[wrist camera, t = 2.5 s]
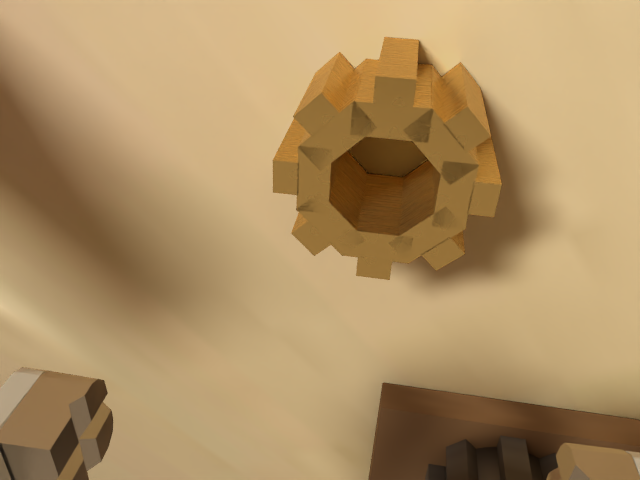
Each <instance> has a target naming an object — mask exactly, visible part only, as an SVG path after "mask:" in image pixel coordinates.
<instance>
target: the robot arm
mask: <svg viewBox="0 0 640 480" xmlns="http://www.w3.org/2000/svg"><path fill="white" fill-rule="evenodd" d="M106 395H107V389H106V386H105V382H104V380H100V379H95V378H89V377H83V376H77V375H71V374H65V373H59V372H53V371H46V370H40V369H33V368H27V367H21V368H20V369H18V370H16V371H14V372H13V373H12V374H11V375H10V377H9V378H8V379H7V380H6V382H5V383H4V384H3V385H2V387H1V388H0V480H89V478H88V473H87V471H88V470H89V469H91V468H92V467H94V466H95V465H97V464H98V463H100V462H101V461H102V459H103V457H104V455H105V453H106V451H107V449H108V447H109V443H110V439H111V436H112V432H113V416H112V411H111V409H110V408H109V407H108V406H107V405H106V404H105V403H104V402H103V400H104V399H105V397H106ZM556 459H557V463H558V468H556V469H555V470H553V471H551V472H549V474H548V477H547V479H546V480H640V453H639V452H632V451H624V450H621V449H613V448H605V447H597V446H589V445H581V444H573V443H564V444H563V445H561V446H560V448H559V450H558V452H557V455H556Z"/></svg>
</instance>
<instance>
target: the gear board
mask: <svg viewBox="0 0 640 480" xmlns="http://www.w3.org/2000/svg"><path fill="white" fill-rule="evenodd" d="M564 443H573V444H581V445H589V446H597V447H605V448H613V449H621V450H624V451H632V452H639V453H640V420H636V419H629V418H622V417H615V416H608V415H601V414H594V413H587V412H581V411H574V410H567V409H560V408H553V407H546V406H539V405H532V404H526V403H519V402H512V401H505V400H498V399H491V398H484V397H477V396H471V395H464V394H457V393H450V392H443V391H436V390H429V389H422V388H416V387H409V386H402V385H395V384H388V383H383V384H382V391H381V398H380V405H379V412H378V418H377V425H376V432H375V439H374V446H373V453H372V459H371V466H370V473H369V480H546V479H547V477H548V474H549V472H551V471H553V470H555V469H556V468H558V463H557V459H556V455H557V452H558V450H559V448H560V446H561V445H563V444H564Z"/></svg>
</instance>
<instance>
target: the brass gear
mask: <svg viewBox="0 0 640 480" xmlns="http://www.w3.org/2000/svg"><path fill="white" fill-rule="evenodd" d="M418 46H419V40H414V39H402V38H390V37H384V42H383V46H382V50H381V54H380V58H379V60H373V59H365V61H363V62H362V63H361V64H360V65H359V66H357V67H356V68H355V69H354V68H353V67H352V66H351V65H350V63H349V62H348V61H347V60H346V59H345V58H344V56H343V55H342V54H341V53H340V52H339V53H338V54H337V55H335V56H334V57H333V58H332V59H331V60H330V61H329V62H328V63H326V64H325V65H324V66H323V67H322V68H321V69H320V70H318V71H317V72H316V73H315V75H314V77H313V79H312V81H311V83H310V85H309V87H308V89H307V91H306V93H305V95H304V96H303V98H302V100H301V102H300V104H299V106H298V108H297V110H296V112H295V114H294V116H293V117H294V120H293V122H292V124H291V125H290V127H289V129H288V131H287V133H286V135H285V137H284V139H283V141H282V143H281V145H280V147H279V149H278V151H277V153H276V155H275V157H274V159H273V192H274V193H283V194H292V195H297V208H296V210H297V211H298V212H299V213H298V216H297V219H296V222H295V224H294V227H293V230H292V234H293V235H294V236H295V237H296V238H297V239H298V240H299V241H300V242H301V243H302V244H303V245H304V246H305V247H306V248H307V249H308V250H309V251H310V252H311V253H312V254H313V255H314V256H315V255H316V254H318V253H319V252H321V251H322V250H324V249H325V248H327V247H328V246H330V245H332V246H333V247H334V248H335V249H336V250H337V251H338V252H339V253H340V254H341V255H342V256H351V257H358V262H357V273H356V276H363V277H371V278H378V279H386V280H390V272H391V265H392V262H400V263H407V264H409V263H410V262H412V261H413V260H415V259H417V258H418V257H420V256H423V257H424V258H425V260H426V261H427V262H428V263H429V264H430V265H431V266H432V267H433V268H434V269H435V270H436V271H437V270H439V269H440V268H442V267H444V266H445V265H447V264H449V263H451V262H452V261H454V260H456V259H458V258H459V257H461V256H463V255H464V254H465V249H464V238H463V230H465V229H466V223H467V218H468V214H469V215H478V216H486V217H494V215H495V211H496V207H497V203H498V199H499V195H500V191H501V187H502V183H501V178H500V174H499V169H498V165H497V160H496V156H495V151H494V147H493V142H492V138H491V133H490V129H489V124H488V120H487V115H486V111H485V106H484V102H483V98H482V93H481V89H480V87H479V85H478V84H477V83H476V82H475V80H474V79H473V78H472V76H471V75H470V74H469V72H468V71H467V70H466V69H465V67H464V66H463V65H462V63H461V62H460V63H459V64H458V65H456V66H455V67H454V68H452V69H451V70H450V71H449V72H447V73H446V74H445V75H443V76H442V77H441V76H440V74H439V73H438V72H437V71H436V69H435V68H434V67H433V65H432V64H431V65H430V64H419V63H418ZM364 137H375V138H385V139H395V140H405V141H413V142H414V144H415V145H416V146H417V147H418V148H419V149H420V151H421V152H422V153H423V154H424V155H425V157H426V158H427V159H428V161H426V162H425V163H423V164H422V165H421V166H419V167H418V168H416V169H415V170H413V171H412V172H410V173H409V174H408V175H406V176H405V177H396V176H387V175H378V174H368V173H367V172H366V171H365V170H364V169H363V168H362V167H361V165H360V164H359V163H358V162H357V161H356V160H355V159H354V158H353V157H352V156H351V154H350V153H349V152H348V151H347V150H349V149H350V148H351V147H353V146H354V145H355V144H356V143H358V142H359V141H360V140H362V139H363V138H364Z"/></svg>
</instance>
